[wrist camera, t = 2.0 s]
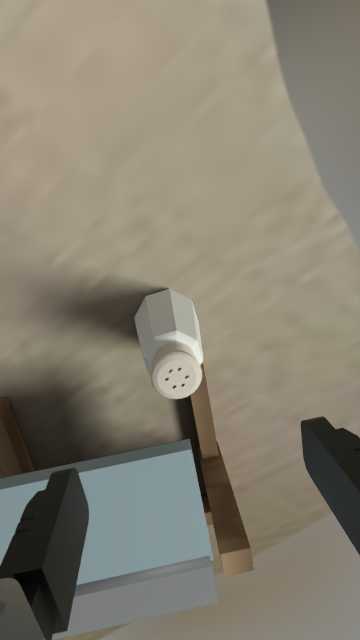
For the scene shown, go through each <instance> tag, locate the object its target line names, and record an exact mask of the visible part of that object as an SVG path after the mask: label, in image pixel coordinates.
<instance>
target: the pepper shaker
mask: <svg viewBox="0 0 360 640" xmlns="http://www.w3.org/2000/svg"><path fill="white" fill-rule="evenodd" d="M134 320H135V325H136V329H137V334H138V338H139V343H140V347H141V352H142V355H143V358H144V361H145V364H146V367H147V369H148V372H149V375H150V377H151V382H152V385H153V387H154V388H155V390H156V391H157V392H158V393H159V394H160V395H162V396H164V397H166V398H170V399H181V398H185V397H187V396H189V395H191V394H192V393H194V392H195V391H196V390H197V388H198V387H199V385H200V383H201V380H202V370H201V366H200V365H201V364H202V362H203V352H202V345H201V337H200V330H199V323H198V320H197V316H196V313H195V309H194V306H193V303H192V300H191V299H189V298H187V297H185V296H183V295H181V294H179V293H177V292H175V291H173V290H171V289H167V290H164V291H161V292H157V293H154V294H151V295H148V296H145V298H144V300H143V302H142V304H141V306H140V308H139V310H138V311H137V313H136V315H135V317H134Z"/></svg>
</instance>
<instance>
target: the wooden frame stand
mask: <svg viewBox="0 0 360 640" xmlns="http://www.w3.org/2000/svg"><path fill="white" fill-rule="evenodd" d="M200 366H201V370H202V380H201V383H200V385H199V387H198V388H197V390H196V391H195V392H194V393H192V394H191V395H190V398H191V403H192V409H193V414H194V419H195V424H196V430H197V435H198V440H199V445H200V446H197V449H198V454H199V459H200V464H201V469H202V473H203V478H204V483H205V487H206V492H207V496H204V497H201V498H202V503H203V508H204V513H205V518H206V523H207V525H211V524H213V525H214V529H215V534H216V539H217V543H218V548H219V553H220V557H221V562H222V567H223V571H224V576H229V575H234V574H238V573H243V572H247V571H251V570H254V568H253V561H252V555H251V548H250V545H249V542H248V538H247V535H246V532H245V529H244V526H243V522H242V519H241V516H240V513H239V510H238V506H237V503H236V500H235V497H234V494H233V490H232V487H231V484H230V481H229V477H228V474H227V471H226V468H225V465H224V461H223V458H222V455H221V452H220V449H219V445H218V442H217V441H216V436H215V430H214V424H213V418H212V413H211V407H210V401H209V395H208V389H207V384H206V378H205V372H204V367H203V364H201V365H200ZM0 465H1V468H2V470H3V473H4V475H5V478H6V477H11V476H15V475H20V474H25V473H30V472H34V471H35V470H34V467H33V464H32V462H31V459H30V456H29V453H28V451H27V448H26V445H25V443H24V440H23V437H22V435H21V432H20V429H19V427H18V424H17V421H16V419H15V416H14V413H13V410H12V408H11V405H10V402H9V400H8V397H3V398H0Z"/></svg>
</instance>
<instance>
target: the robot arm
mask: <svg viewBox="0 0 360 640" xmlns="http://www.w3.org/2000/svg"><path fill="white" fill-rule="evenodd" d="M301 434H302V446H303V458H304V462H305V466H306V468H307V471H308V473H309V475H310V477H311V478H312V480H313V482H314V483H315V485H316V486H317V488H318V490H319V491H320V493H321V494H322V496H323V497H324V499H325V501H326V502H327V504H328V505H329V507H330V509H331V510H332V512H333V513H334V515H335V516H336V518H337V520H338V521H339V523H340V525H341V526H342V528H343V529H344V531H345V532H346V534H347V535H348V537H349V539H350V540H351V542H352V544H353V545H354V546H355V548H356V550H357V551H358V553H359V555H360V438H359V437H358V436H357V435H355V434H353V433H351V432H349V431H348V430H346V429H344V428H340V429H335V428H334V427H333V426H332V425H331V424H330V423H329V422H328V420H327V419H326V418H325V417H317V418H313V419H308V420H303V421H302V422H301ZM88 522H89V507H88V502H87V499H86V496H85V492H84V489H83V486H82V483H81V480H80V477H79V474H78V471H77V469H76V468H70V469H65V470H60V471H55V472H52V474H51V475H50V478H49V481H48V483H47V486H46V488H45V490H42V491H37V493H36V494H35V495H34V496H33V497H32V499H31V500H30V501H29V502H28V503H27V505H26V507H25V509H24V511H23V514H22V516H21V518H20V522H19V523H18V525H17V528H16V530H15V534H14V535H13V537H12V539H11V542H10V544H9V547H8V549H7V551H6V554H5V556H4V558H3V561H2V563H1V565H0V640H52V636H53V634H56V633H61V632H65V631H67V630H68V625H69V620H70V614H71V609H72V604H73V599H74V594H75V589H76V584H77V579H78V574H79V569H80V563H81V558H82V553H83V548H84V543H85V538H86V533H87V528H88Z"/></svg>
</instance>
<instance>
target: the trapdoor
mask: <svg viewBox="0 0 360 640" xmlns="http://www.w3.org/2000/svg"><path fill="white" fill-rule="evenodd" d="M70 468H76V469H77V471H78V474H79V477H80V480H81V483H82V486H83V489H84V492H85V496H86V499H87V502H88V507H89V522H88V528H87V533H86V538H85V543H84V548H83V553H82V558H81V563H80V569H79V574H78V579H77V584H76V589H75V594H74V599H73V604H72V609H71V614H70V620H69V625H68V630H67V631H65V632H61V633H56V634H53V636H52V640H56V639H60V638H64V637H69V636H73V635H78V634H82V633H86V632H91V631H95V630H99V629H104V628H108V627H113V626H117V625H121V624H126V623H130V622H135V621H139V620H143V619H147V618H152V617H156V616H161V615H165V614H170V613H174V612H178V611H183V610H187V609H191V608H196V607H200V606H205V605H209V604H213V603H218V602H219V598H218V593H217V587H216V582H215V577H214V571H213V566H212V560H214V559H213V554H212V548H211V543H210V538H209V533H208V528H207V523H206V518H205V513H204V508H203V503H202V498H201V493H200V488H199V483H198V478H197V473H196V468H195V463H194V458H193V453H192V448H191V443H190V439H186V440H182V441H177V442H172V443H167V444H163V445H158V446H153V447H148V448H144V449H139V450H134V451H129V452H125V453H120V454H115V455H110V456H106V457H101V458H96V459H91V460H87V461H82V462H77V463H72V464H68V465H63V466H58V467H53V468H49V469H44V470H39V471H34V472H30V473H25V474H20V475H15V476H11V477H6V478H1V479H0V565H1V563H2V561H3V558H4V556H5V554H6V551H7V549H8V547H9V544H10V542H11V539H12V537H13V535H14V534H15V530H16V528H17V525H18V523H19V522H20V518H21V516H22V514H23V511H24V509H25V507H26V505H27V503H28V502H29V501H30V500H31V499H32V497H33V496H34V495H35V494H36V493H37V491H42V490H45V488H46V486H47V483H48V481H49V478H50V475H51V474H52V472H55V471H60V470H65V469H70Z"/></svg>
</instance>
